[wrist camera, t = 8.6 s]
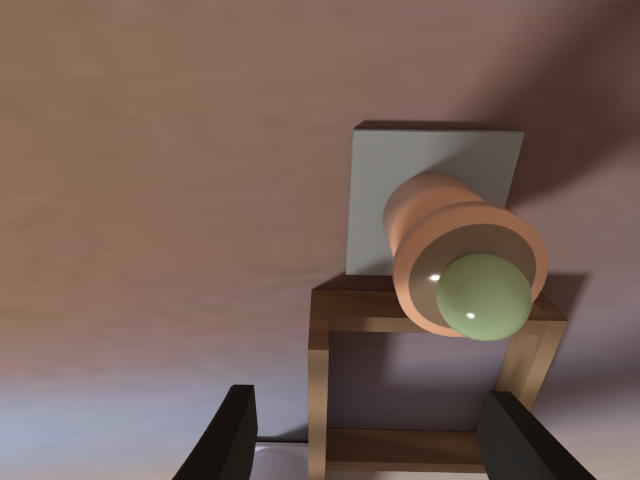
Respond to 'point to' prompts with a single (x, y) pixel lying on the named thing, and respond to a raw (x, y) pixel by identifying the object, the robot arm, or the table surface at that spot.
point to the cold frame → (408, 445)
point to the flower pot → (461, 259)
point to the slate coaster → (409, 161)
